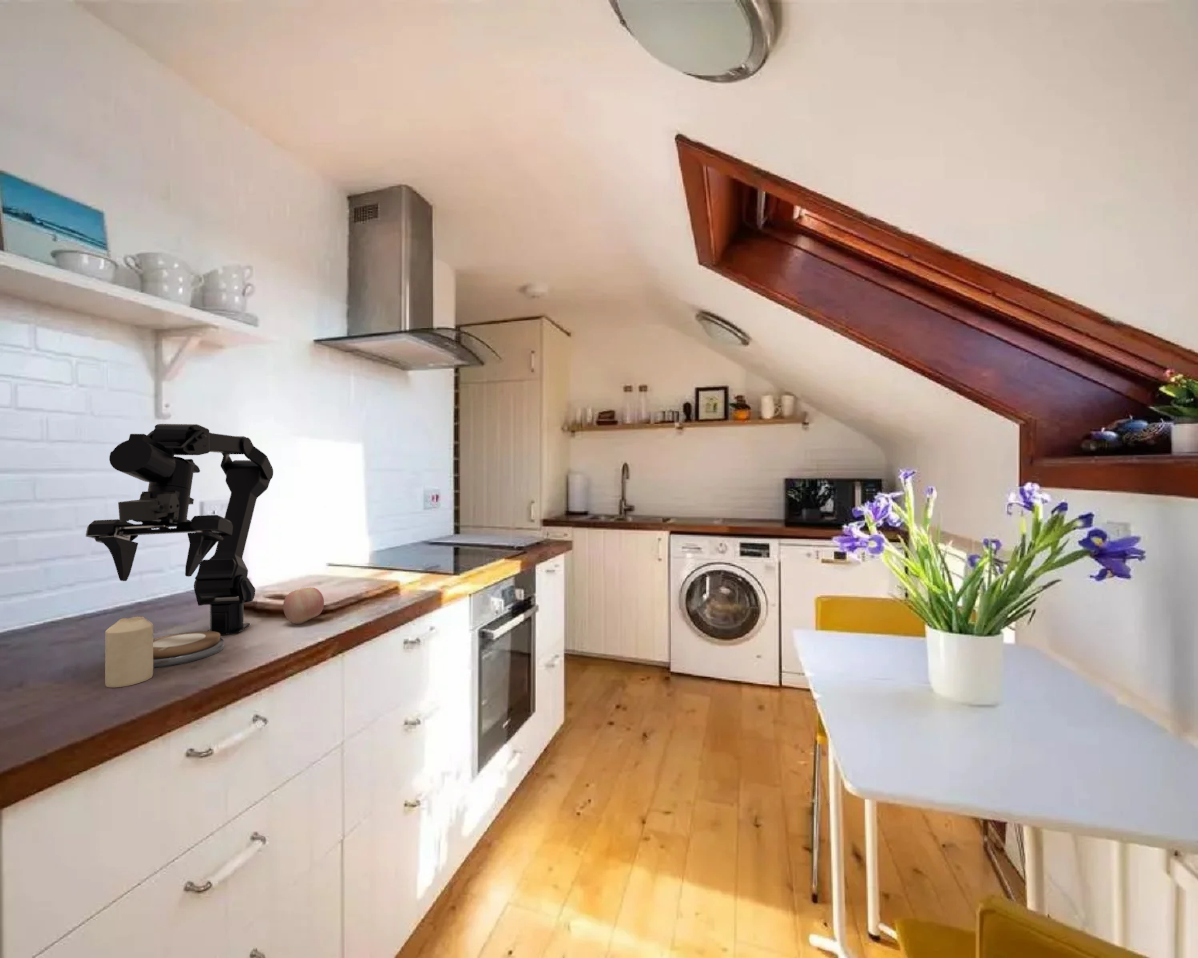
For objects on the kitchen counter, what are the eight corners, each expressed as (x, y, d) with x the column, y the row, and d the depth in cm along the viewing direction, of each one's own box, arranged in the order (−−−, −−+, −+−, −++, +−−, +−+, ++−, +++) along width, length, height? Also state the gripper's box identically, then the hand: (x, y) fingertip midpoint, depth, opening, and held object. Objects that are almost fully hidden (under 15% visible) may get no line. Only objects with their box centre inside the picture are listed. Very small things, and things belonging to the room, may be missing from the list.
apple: (327, 616, 114) (327, 583, 114) (319, 625, 106) (319, 589, 106) (288, 620, 111) (288, 585, 111) (277, 629, 104) (278, 592, 104)
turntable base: (157, 646, 93) (157, 640, 93) (235, 639, 97) (235, 634, 97) (111, 671, 81) (111, 664, 81) (202, 663, 85) (202, 656, 85)
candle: (122, 689, 74) (123, 624, 74) (95, 686, 75) (95, 622, 75) (162, 675, 79) (162, 614, 79) (135, 672, 80) (136, 613, 80)
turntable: (159, 639, 93) (159, 633, 93) (231, 634, 96) (231, 627, 96) (116, 661, 82) (116, 654, 82) (200, 654, 85) (200, 647, 85)
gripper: (68, 478, 76) (46, 578, 71) (206, 474, 80) (194, 568, 76) (118, 496, 86) (102, 585, 82) (238, 492, 91) (228, 576, 86)
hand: (156, 578), depth 81 cm, fingers open, 9 cm apart
